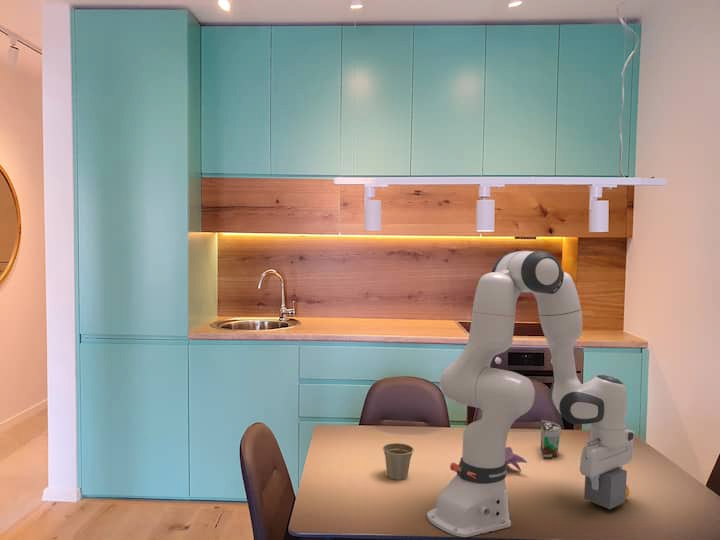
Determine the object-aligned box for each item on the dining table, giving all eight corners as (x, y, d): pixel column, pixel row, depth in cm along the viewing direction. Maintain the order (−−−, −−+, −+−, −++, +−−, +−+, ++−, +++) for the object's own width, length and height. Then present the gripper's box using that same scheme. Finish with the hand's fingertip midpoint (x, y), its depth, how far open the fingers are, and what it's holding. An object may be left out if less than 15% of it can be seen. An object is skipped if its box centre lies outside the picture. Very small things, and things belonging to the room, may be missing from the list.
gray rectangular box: (609, 509, 160) (611, 477, 159) (584, 498, 166) (585, 467, 165) (625, 502, 164) (626, 470, 164) (599, 492, 170) (601, 461, 170)
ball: (622, 504, 166) (623, 487, 166) (606, 498, 170) (606, 480, 170) (632, 500, 169) (633, 482, 169) (615, 493, 173) (616, 476, 173)
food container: (563, 462, 196) (564, 432, 196) (543, 460, 197) (544, 430, 197) (558, 449, 208) (559, 421, 208) (540, 447, 209) (541, 419, 209)
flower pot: (419, 476, 182) (420, 448, 182) (399, 485, 176) (400, 456, 175) (395, 467, 189) (396, 440, 188) (375, 476, 182) (376, 448, 181)
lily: (528, 483, 182) (535, 452, 185) (493, 469, 180) (502, 438, 183) (508, 480, 193) (516, 450, 196) (476, 467, 191) (484, 437, 194)
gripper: (596, 446, 155) (594, 498, 156) (638, 431, 167) (636, 480, 168) (574, 439, 160) (572, 490, 161) (617, 425, 172) (615, 472, 173)
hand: (605, 484), depth 165 cm, fingers closed on gray rectangular box, 8 cm apart
